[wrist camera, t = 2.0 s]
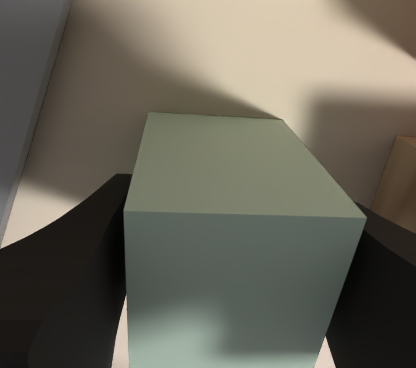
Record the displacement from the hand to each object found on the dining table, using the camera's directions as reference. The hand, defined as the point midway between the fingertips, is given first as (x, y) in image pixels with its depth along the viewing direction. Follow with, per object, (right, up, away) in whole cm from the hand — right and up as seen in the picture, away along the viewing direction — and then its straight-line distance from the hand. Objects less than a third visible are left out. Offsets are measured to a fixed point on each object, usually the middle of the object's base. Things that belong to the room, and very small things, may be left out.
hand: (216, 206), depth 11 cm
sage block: (0, +1, +2) cm, 2 cm away
